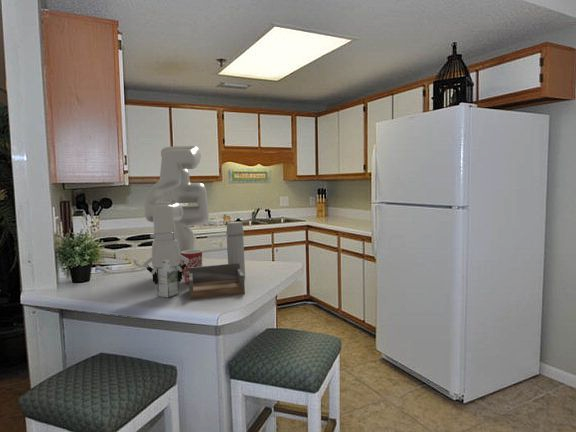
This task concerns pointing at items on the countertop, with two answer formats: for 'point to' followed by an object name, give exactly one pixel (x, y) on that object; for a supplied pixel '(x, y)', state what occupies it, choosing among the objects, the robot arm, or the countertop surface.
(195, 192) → the robot arm
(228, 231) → the water bottle
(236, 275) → the shelf
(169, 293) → the syrup box
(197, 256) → the mug
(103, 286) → the countertop surface
